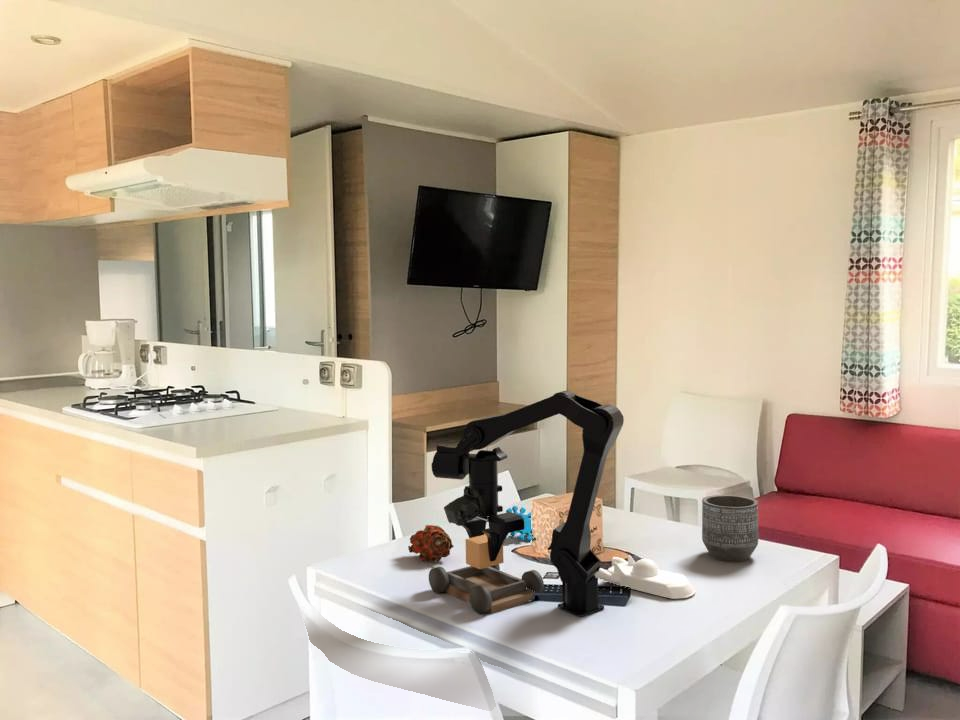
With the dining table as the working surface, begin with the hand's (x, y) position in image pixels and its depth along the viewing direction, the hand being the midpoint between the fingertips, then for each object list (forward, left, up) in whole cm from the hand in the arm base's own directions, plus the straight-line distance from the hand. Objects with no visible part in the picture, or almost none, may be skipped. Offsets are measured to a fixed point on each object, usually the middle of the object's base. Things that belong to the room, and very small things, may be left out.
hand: (485, 558), depth 162 cm
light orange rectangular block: (0, 0, -1) cm, 1 cm away
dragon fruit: (+26, -4, -8) cm, 27 cm away
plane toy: (-18, -28, -8) cm, 34 cm away
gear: (+25, -31, -8) cm, 40 cm away
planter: (-17, -57, -8) cm, 60 cm away
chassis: (0, 0, -7) cm, 7 cm away
